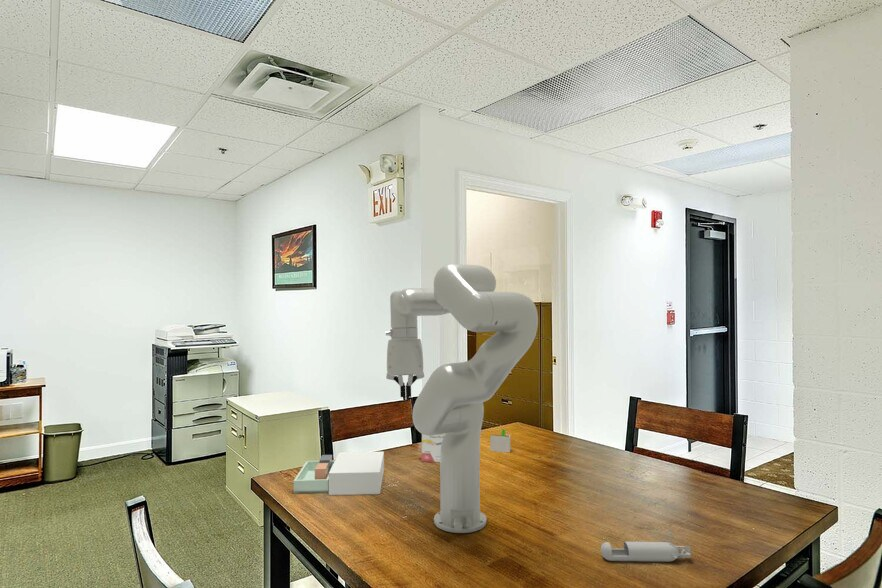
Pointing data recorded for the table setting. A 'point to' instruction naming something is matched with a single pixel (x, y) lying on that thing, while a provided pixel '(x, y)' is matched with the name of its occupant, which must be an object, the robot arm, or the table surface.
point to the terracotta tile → (321, 471)
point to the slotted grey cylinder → (645, 551)
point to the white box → (356, 473)
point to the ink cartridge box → (431, 447)
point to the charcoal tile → (326, 461)
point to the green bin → (310, 480)
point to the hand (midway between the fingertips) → (405, 399)
